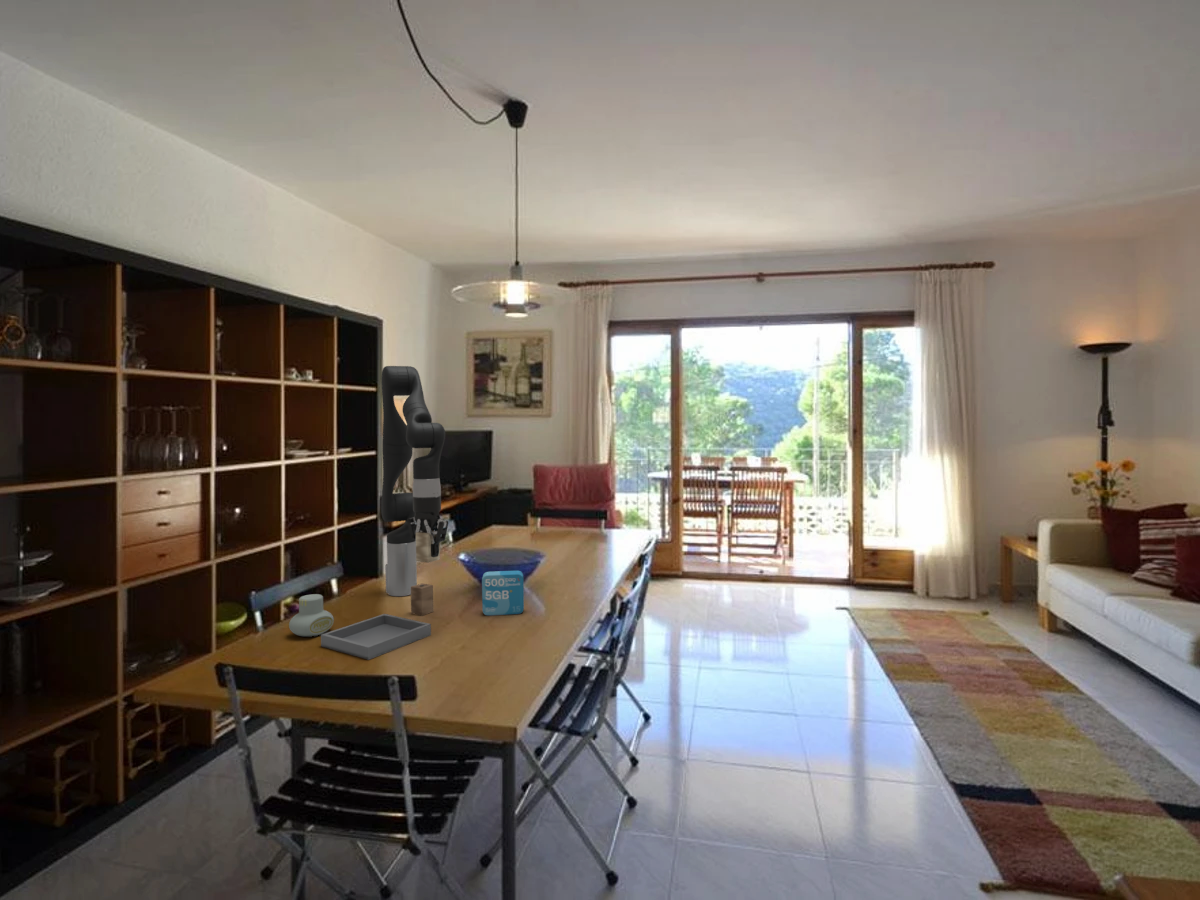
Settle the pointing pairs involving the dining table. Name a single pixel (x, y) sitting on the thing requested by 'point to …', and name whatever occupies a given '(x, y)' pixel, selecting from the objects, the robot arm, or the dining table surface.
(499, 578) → the data package
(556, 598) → the dining table surface
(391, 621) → the tray
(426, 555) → the block
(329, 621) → the air freshener
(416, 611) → the full-size block
